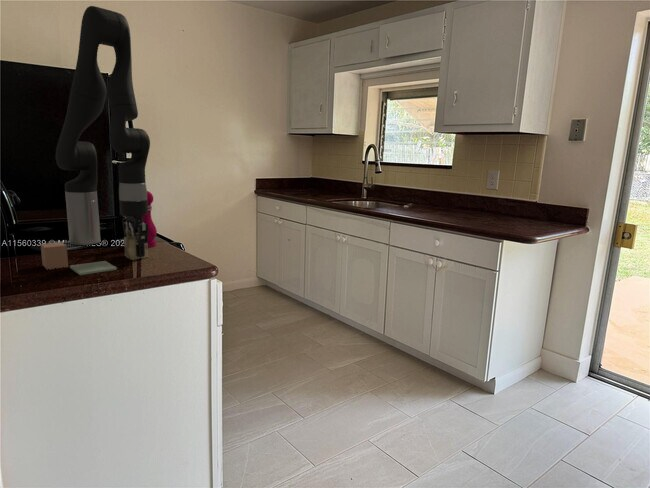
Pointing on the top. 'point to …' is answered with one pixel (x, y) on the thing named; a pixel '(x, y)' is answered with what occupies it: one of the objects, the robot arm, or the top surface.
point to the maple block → (133, 248)
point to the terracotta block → (54, 255)
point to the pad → (93, 267)
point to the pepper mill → (150, 222)
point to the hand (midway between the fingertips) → (136, 254)
